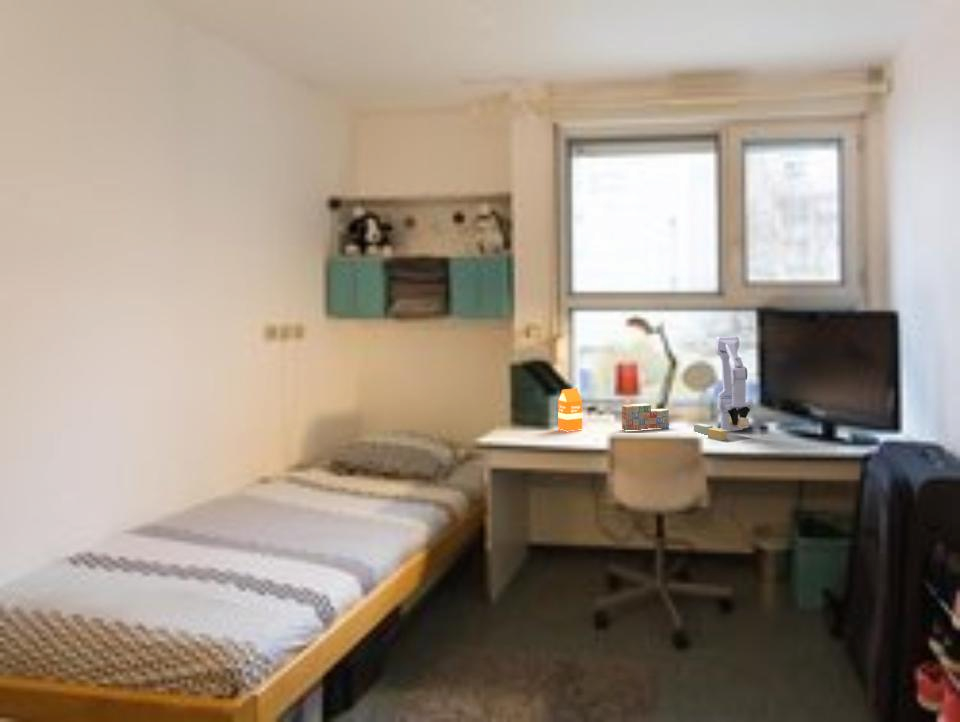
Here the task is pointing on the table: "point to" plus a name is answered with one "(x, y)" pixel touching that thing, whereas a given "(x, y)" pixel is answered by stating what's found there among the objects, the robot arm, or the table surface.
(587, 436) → the table surface
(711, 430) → the ochre brick
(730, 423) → the birch brick
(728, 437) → the desk mat
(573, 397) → the orange juice
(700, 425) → the sage brick
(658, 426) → the stack of blocks
